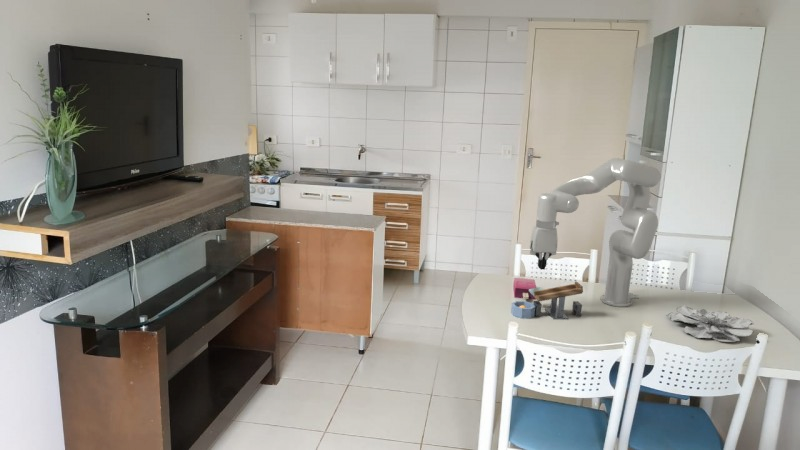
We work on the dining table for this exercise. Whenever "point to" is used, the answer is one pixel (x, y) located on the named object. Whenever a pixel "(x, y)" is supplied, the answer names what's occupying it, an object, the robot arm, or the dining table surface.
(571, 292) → the lever
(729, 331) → the decorative wall flower
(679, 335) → the dining table surface
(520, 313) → the cup
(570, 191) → the robot arm
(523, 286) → the popsicle
